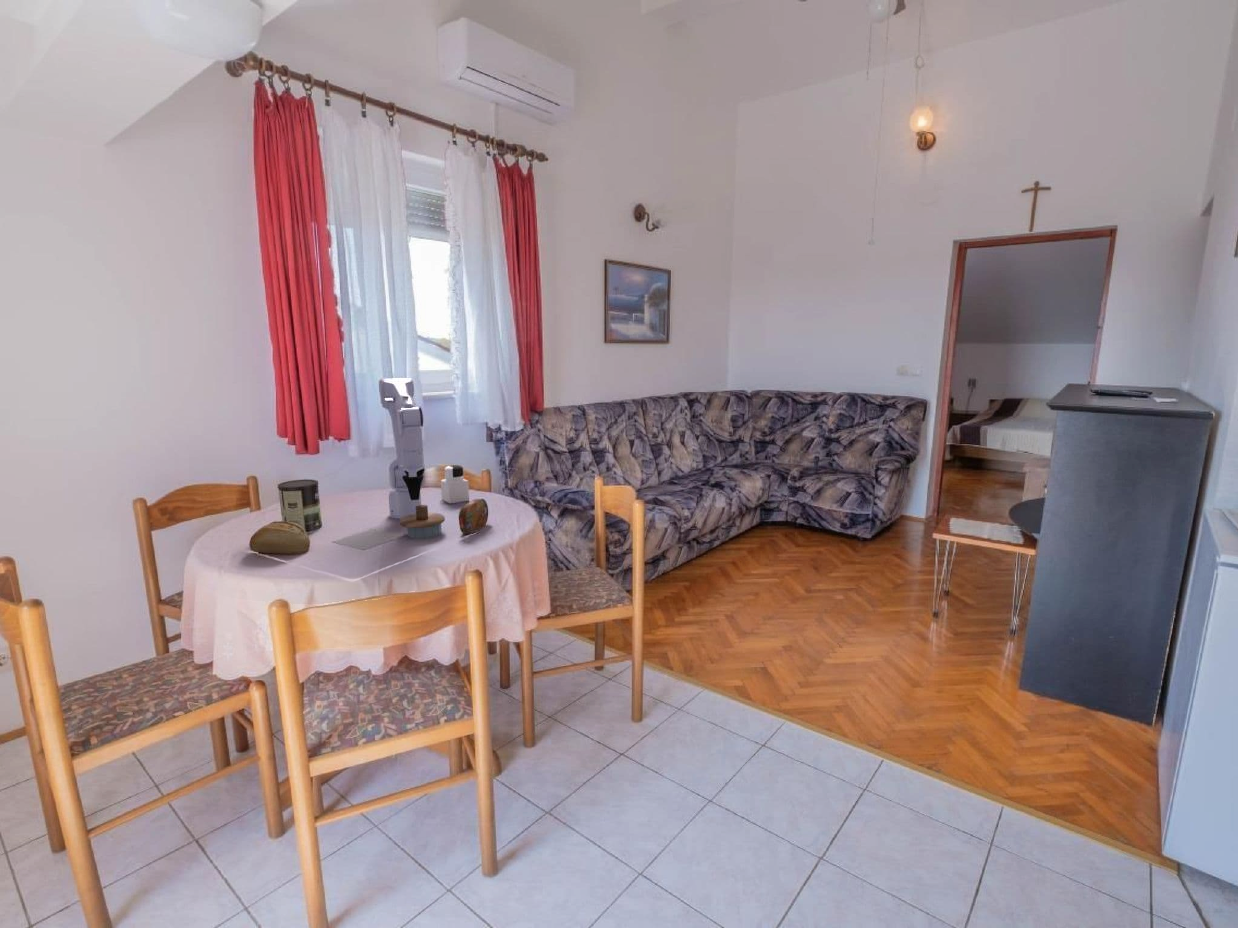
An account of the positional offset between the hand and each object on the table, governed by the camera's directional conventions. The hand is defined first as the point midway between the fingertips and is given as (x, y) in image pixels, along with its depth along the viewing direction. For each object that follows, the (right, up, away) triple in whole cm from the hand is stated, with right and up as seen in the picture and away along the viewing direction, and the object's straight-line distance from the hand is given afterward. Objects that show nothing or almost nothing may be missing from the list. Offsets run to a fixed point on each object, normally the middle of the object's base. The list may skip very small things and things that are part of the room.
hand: (415, 496), depth 176 cm
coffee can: (-33, -10, +1) cm, 34 cm away
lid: (+3, -7, -4) cm, 9 cm away
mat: (-10, -12, -8) cm, 18 cm away
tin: (+17, -10, +2) cm, 19 cm away
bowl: (+4, -11, -3) cm, 12 cm away
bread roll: (-29, -14, -17) cm, 36 cm away
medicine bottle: (+2, -3, +34) cm, 35 cm away
